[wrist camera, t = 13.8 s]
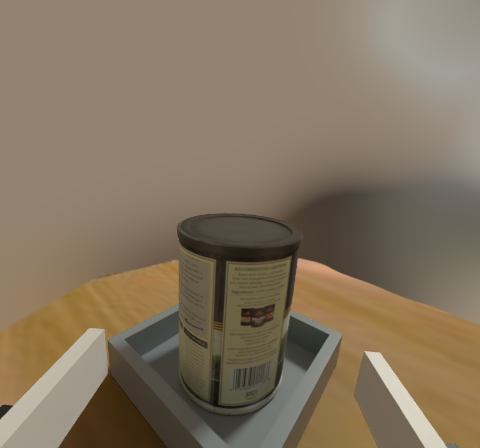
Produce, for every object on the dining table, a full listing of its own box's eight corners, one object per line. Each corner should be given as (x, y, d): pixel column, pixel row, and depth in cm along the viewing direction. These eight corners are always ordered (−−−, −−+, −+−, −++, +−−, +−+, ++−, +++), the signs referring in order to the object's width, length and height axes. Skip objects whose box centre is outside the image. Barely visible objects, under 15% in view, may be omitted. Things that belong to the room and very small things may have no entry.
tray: (224, 303, 34) (226, 279, 33) (336, 364, 25) (342, 334, 24) (110, 373, 22) (107, 339, 21) (246, 550, 12) (252, 502, 11)
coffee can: (232, 316, 30) (240, 209, 27) (303, 366, 23) (326, 231, 20) (156, 358, 23) (153, 219, 19) (225, 450, 16) (240, 259, 12)
